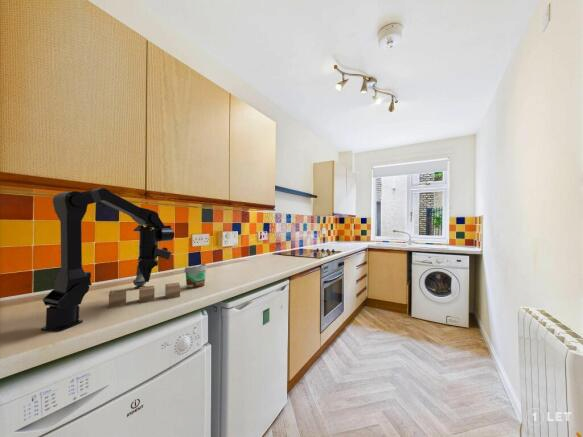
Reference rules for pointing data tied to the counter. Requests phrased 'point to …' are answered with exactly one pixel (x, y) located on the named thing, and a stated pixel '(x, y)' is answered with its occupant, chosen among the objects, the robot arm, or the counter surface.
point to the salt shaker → (139, 279)
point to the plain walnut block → (146, 294)
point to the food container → (195, 276)
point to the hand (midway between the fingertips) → (147, 281)
